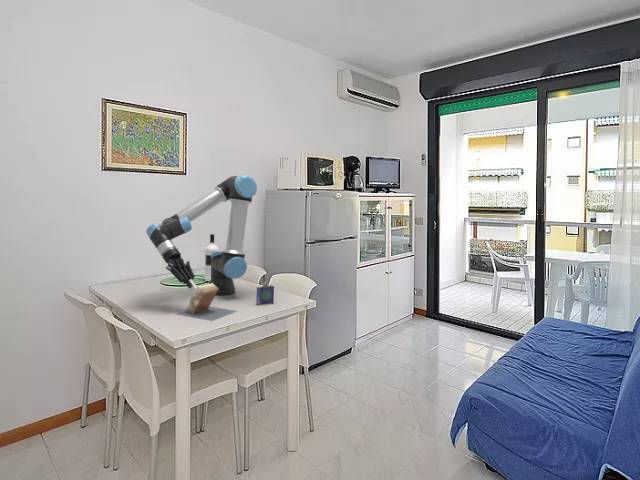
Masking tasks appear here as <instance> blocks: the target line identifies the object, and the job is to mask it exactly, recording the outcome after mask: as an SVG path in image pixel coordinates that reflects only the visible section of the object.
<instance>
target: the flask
mask: <svg viewBox="0 0 640 480" xmlns="http://www.w3.org/2000/svg"><path fill="white" fill-rule="evenodd" d="M274 291H275V286H274V285H272V284H267V282H263V285H261V286H256V300H255V304H256V305H257V306H258V305H259V306H261V305H270V303H273V304H274V302H275V301H274V296H275V295H274V294H275V292H274Z"/></svg>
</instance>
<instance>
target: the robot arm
mask: <svg viewBox="0 0 640 480" xmlns="http://www.w3.org/2000/svg"><path fill="white" fill-rule="evenodd" d="M257 190H258V185H257V183H256V181H255V180H254V178H253V177H251V176H249V175H245V174H241V175H232V176H230V177H228V178H226V179H225V180H223V181H222V182H221V183H219V184H217V185H216V186H215V187H214V189H213V190H212V191H210V192H208V193H207V194H205V195H204V196H202V197H200V198H198V199H197V200H196V201H194V202H192V203H190V204H189V205H188V206H186V207H184V208H182V209H181V210H179V211H178V212H176V213H175V214H174V215H172V216H170V217H167V218H164V219H163V220H162V221H161V223H158V222H157V223H152V224H151V225H149V226H147V228H146V235H147V237H148V238H149V240H150V241H151V242H152V244H153V245H154V247H155V249H156V250H157V251H158V253H159V254H160V257H162V259H163V260H164V262H165V264H167V265H166V266H165V269H166V270H167V271H169V272H170V273H171V274H172V275H173V276H174V278H175V279H177V281H178V282H179V283H181V284H183V285H186V286H187V288H188V289H189V290H190V291H191V293H192V294H194V293H195V291H196V289H197V287H198V286H197V283H196V282H195V281H194V279H195V278H196V275H195V274H194V271H193V269H192V267H191V265H190V263H191V262H190V261H188V260H187V261H185V260H184V259H183V258H182V256H181V255H182V254H181V252H180V251H179V250H178V248H177V246H176V244H175V243H174V242H173V241H172V240H173V239H175V238H177V237H180V236H182V235H184V234H187V233H188V232H190V231H191V230H192V229H193V226H192V222H193V221H195V220H197V219H198V218H199V217H200V216H202V215H204V214H205V213H207V212H208V211H210V210H212V209H213V208H214V207H216V206H218V205H219V204H221V203H222V202H223V203H225V202H227V201H229V202H230V203H231V206H230V216H229V220H228V221H229V223H228V231H227V238H226V239H227V240H226V246H225V248H224V249H223V250H222V251H219V252H212V254H211V280H210V282H208V284H211V283H213V284H214V285H215V286H216V287H217V288H218V291H217V293H216V295H215V296H225V295H226V296H229V295H231V294H232V295H233V294H235V293H236V285H235V282H234V280H236V279H240V278H241V277H243V276H244V275H245V273H246V272H247V268H248V264H247V262H246V260H245V257H246V253H245V252H244V250H243V248H244V242H245V234H246V226H247V225H246V224H247V220H248V219H247V217H248V209H249V206H250V205H251V204H252V201H253V197H254V196H255V195H256V193H257Z"/></svg>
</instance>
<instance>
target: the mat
mask: <svg viewBox="0 0 640 480" xmlns="http://www.w3.org/2000/svg"><path fill="white" fill-rule="evenodd" d="M237 312H238V311H237V310H234V309H227V308H221V307H216V306H215V307H214V306H211V305H210V306H209V308H208V309H207V310H204V311H201V312H198V313H195V314H192V313H191V312H190V311H189V310H188V309H186V310H184V311H181V312H177V313H176V315H177V316H182V317H183V316H184V317H186V318H187V317H188V318H193V319H199V320H205V321H209V322H212V321H216V320H219V319H221V318H224V317H226V316H229V315H231V314H232V315H233V314H234V313H237Z"/></svg>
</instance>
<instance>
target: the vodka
mask: <svg viewBox="0 0 640 480" xmlns="http://www.w3.org/2000/svg"><path fill="white" fill-rule="evenodd" d="M204 250H205V253H204V254H205V255H204V256H205V259H204V260H205V262H204V263H205V264H204V269H205V270H204V277H203V279H204V278H205V279H211V254H212V252H220V250H219V247H218V246H217V245H216V244H215V234H213V233H212V234H211V233H210V234H209V245H207V246H206V247H205V248H204Z"/></svg>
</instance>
